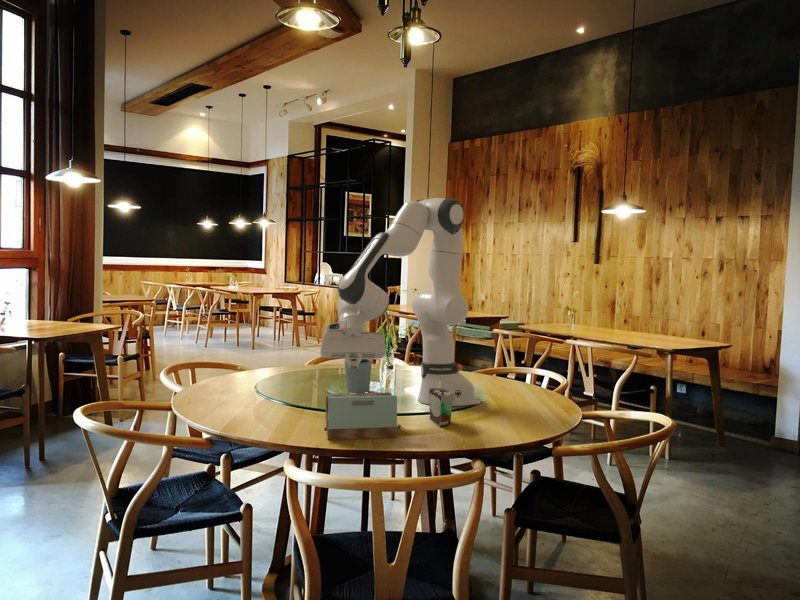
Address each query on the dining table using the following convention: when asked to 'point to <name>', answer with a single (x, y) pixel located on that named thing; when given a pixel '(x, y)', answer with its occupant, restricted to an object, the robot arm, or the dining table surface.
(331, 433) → the brown open box
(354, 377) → the gray cup
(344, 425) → the panel
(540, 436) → the dining table surface
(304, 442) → the dining table surface
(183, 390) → the dining table surface
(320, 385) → the dining table surface
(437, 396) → the food container
